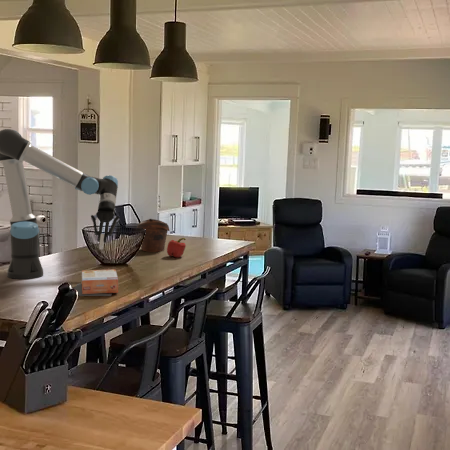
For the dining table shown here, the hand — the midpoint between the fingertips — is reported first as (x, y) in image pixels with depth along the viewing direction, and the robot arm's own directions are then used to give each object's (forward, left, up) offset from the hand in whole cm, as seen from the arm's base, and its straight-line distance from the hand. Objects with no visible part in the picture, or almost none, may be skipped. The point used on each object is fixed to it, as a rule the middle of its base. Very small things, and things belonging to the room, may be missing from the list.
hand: (101, 247), depth 277 cm
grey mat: (+1, -27, -13) cm, 30 cm away
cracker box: (+1, -15, -10) cm, 18 cm away
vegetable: (+33, +54, -13) cm, 65 cm away
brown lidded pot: (+19, +76, -13) cm, 80 cm away
